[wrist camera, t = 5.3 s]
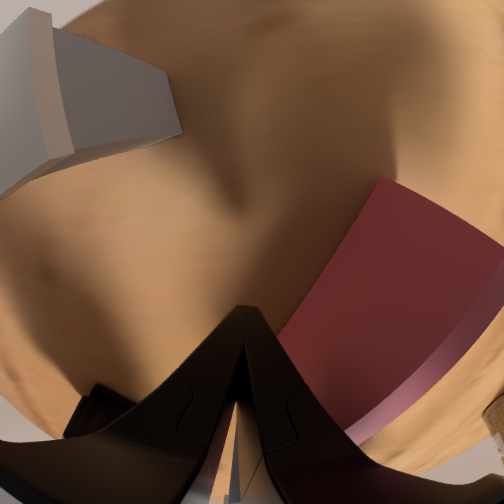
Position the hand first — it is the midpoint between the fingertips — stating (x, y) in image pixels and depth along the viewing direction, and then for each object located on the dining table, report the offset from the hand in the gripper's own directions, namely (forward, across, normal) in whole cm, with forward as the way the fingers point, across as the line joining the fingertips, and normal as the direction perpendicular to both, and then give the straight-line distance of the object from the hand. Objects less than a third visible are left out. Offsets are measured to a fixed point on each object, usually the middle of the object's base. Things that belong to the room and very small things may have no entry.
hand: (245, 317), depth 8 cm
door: (+3, -3, +1) cm, 4 cm away
